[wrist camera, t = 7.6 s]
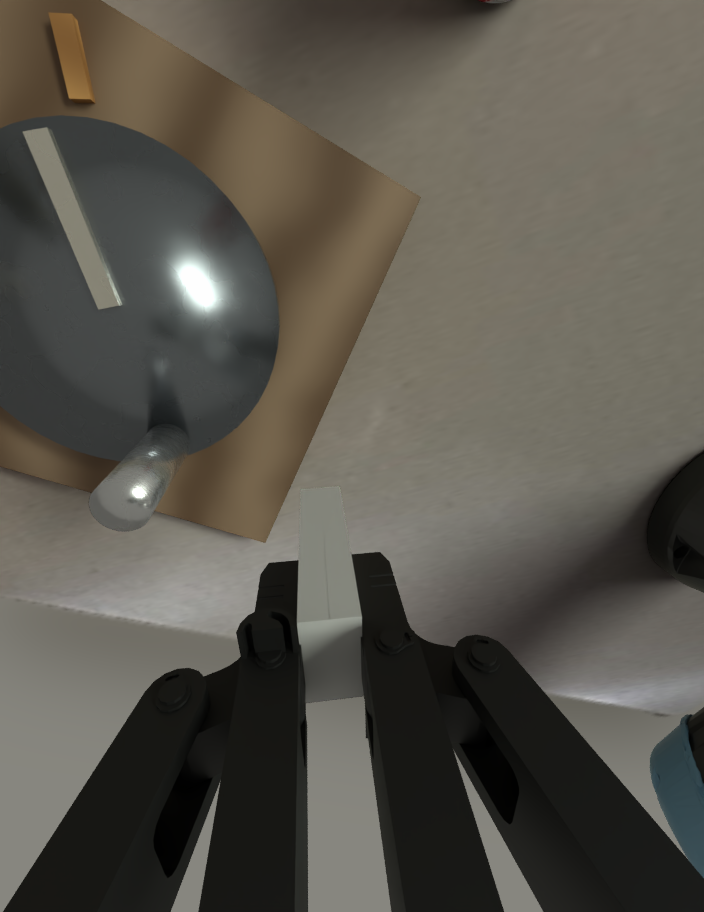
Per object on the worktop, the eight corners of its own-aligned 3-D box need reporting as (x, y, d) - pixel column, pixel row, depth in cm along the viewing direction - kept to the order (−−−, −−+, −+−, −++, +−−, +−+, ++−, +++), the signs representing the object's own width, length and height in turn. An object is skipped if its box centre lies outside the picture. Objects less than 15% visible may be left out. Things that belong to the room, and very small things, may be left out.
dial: (308, 421, 26) (315, 489, 18) (56, 476, 25) (-59, 573, 17) (231, 102, 19) (184, -30, 11) (-120, 164, 18) (-460, 73, 10)
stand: (411, 203, 23) (423, 195, 21) (266, 527, 31) (264, 546, 29) (-83, -96, 17) (-143, -154, 14) (-111, 413, 24) (-153, 427, 22)
